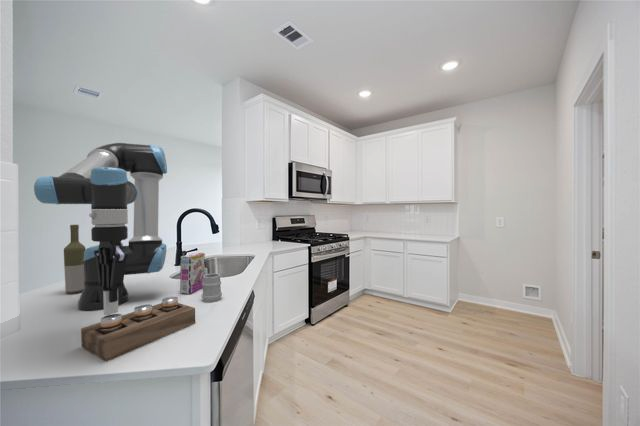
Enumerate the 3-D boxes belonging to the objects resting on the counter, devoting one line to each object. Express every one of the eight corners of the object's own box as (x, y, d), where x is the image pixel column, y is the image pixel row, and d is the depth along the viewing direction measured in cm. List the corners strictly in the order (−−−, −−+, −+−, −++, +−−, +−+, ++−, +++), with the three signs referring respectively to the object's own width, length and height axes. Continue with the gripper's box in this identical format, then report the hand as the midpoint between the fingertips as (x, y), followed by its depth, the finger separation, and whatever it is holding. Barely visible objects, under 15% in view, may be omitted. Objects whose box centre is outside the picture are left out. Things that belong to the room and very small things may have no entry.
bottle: (63, 292, 114) (62, 224, 113) (84, 288, 119) (83, 224, 119) (65, 296, 109) (64, 225, 109) (87, 292, 115) (86, 224, 114)
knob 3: (159, 315, 83) (158, 299, 83) (172, 310, 87) (172, 295, 87) (167, 318, 81) (167, 302, 81) (181, 313, 85) (180, 297, 84)
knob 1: (97, 337, 69) (97, 318, 69) (117, 330, 73) (117, 312, 73) (105, 341, 67) (105, 322, 66) (125, 333, 71) (125, 315, 70)
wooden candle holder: (81, 346, 70) (81, 328, 69) (169, 314, 91) (169, 300, 90) (106, 361, 63) (105, 341, 63) (195, 323, 84) (195, 307, 84)
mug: (206, 304, 101) (206, 273, 100) (194, 297, 108) (194, 268, 108) (225, 299, 106) (225, 270, 106) (212, 292, 114) (211, 265, 114)
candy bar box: (190, 294, 111) (190, 257, 111) (179, 294, 112) (179, 256, 112) (205, 287, 122) (205, 252, 122) (195, 286, 123) (195, 252, 123)
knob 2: (131, 325, 76) (130, 308, 76) (147, 319, 80) (147, 303, 80) (139, 328, 74) (139, 311, 74) (155, 322, 78) (155, 306, 77)
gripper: (81, 225, 69) (82, 313, 69) (104, 227, 63) (105, 323, 63) (114, 224, 75) (115, 304, 76) (138, 225, 69) (139, 312, 70)
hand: (111, 313), depth 69 cm, fingers closed
